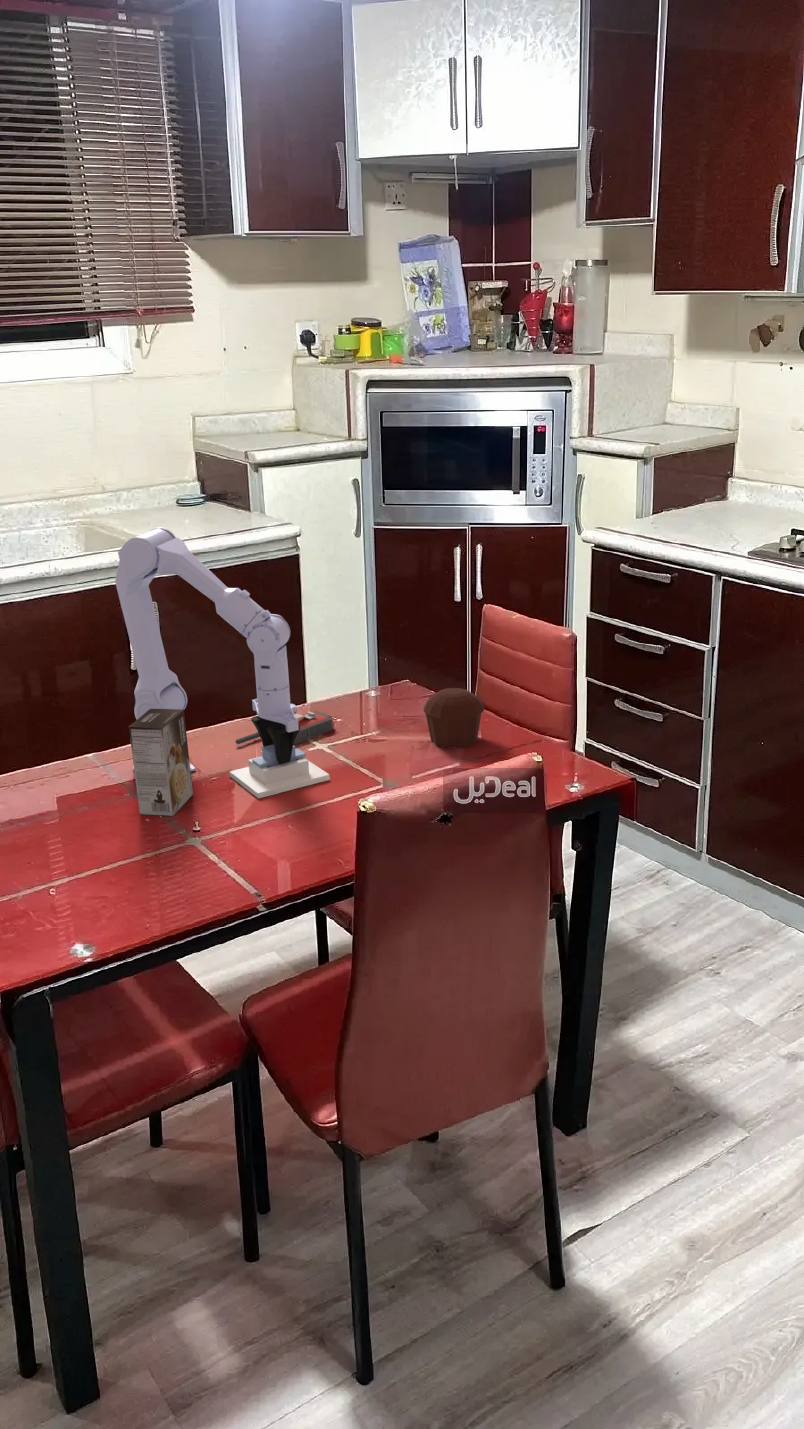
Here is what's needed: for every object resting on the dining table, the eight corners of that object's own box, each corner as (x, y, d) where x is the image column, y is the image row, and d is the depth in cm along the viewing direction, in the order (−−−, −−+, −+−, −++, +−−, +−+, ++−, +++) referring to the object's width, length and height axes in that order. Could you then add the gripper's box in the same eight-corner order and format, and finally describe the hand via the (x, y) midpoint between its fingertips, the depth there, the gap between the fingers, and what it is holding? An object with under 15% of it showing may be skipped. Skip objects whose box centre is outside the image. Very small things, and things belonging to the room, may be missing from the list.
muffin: (417, 748, 220) (415, 698, 217) (432, 728, 230) (431, 680, 227) (477, 753, 217) (477, 702, 214) (491, 732, 227) (490, 683, 224)
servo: (261, 781, 205) (258, 750, 203) (253, 775, 208) (251, 745, 206) (306, 769, 209) (304, 739, 207) (298, 764, 212) (296, 734, 210)
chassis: (258, 798, 200) (256, 779, 199) (230, 776, 210) (228, 758, 209) (329, 779, 207) (328, 761, 206) (299, 759, 217) (297, 741, 216)
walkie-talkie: (311, 720, 238) (233, 747, 225) (309, 699, 237) (231, 726, 223) (340, 729, 232) (261, 758, 219) (338, 709, 231) (259, 736, 217)
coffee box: (159, 793, 204) (150, 707, 199) (194, 794, 203) (185, 708, 197) (138, 814, 196) (127, 725, 190) (174, 817, 194) (164, 727, 189)
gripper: (312, 692, 199) (316, 765, 203) (275, 671, 210) (280, 741, 215) (275, 700, 195) (280, 774, 200) (239, 678, 207) (245, 749, 212)
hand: (278, 757), depth 207 cm, fingers open, 4 cm apart
